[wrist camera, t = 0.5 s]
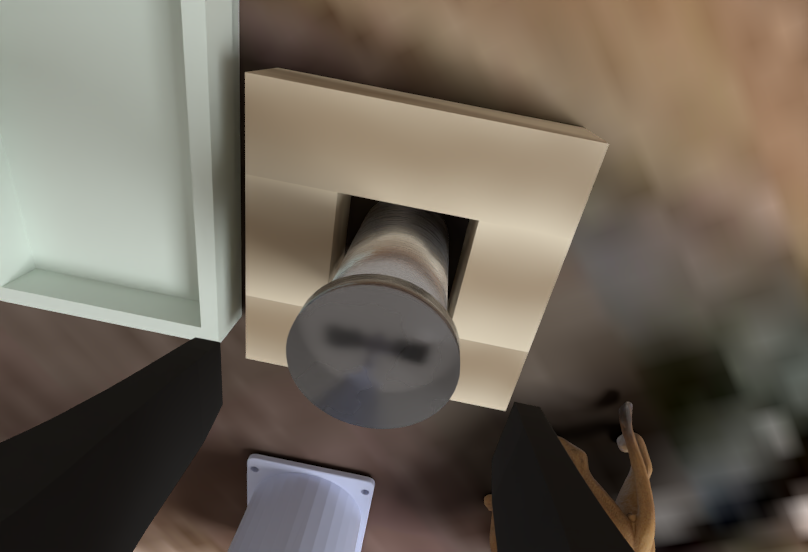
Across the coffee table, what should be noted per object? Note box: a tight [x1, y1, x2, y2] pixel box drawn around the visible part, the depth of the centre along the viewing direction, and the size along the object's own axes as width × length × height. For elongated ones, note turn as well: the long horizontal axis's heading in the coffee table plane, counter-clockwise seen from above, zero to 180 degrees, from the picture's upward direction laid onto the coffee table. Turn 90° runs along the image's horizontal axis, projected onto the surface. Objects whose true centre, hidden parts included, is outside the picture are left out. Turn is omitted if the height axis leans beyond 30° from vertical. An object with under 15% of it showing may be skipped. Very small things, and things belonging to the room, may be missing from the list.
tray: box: [0, 0, 242, 343], centre depth 18 cm, size 16×11×2 cm
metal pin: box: [286, 201, 460, 429], centre depth 16 cm, size 5×5×9 cm
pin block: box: [245, 67, 609, 411], centre depth 18 cm, size 12×12×3 cm
